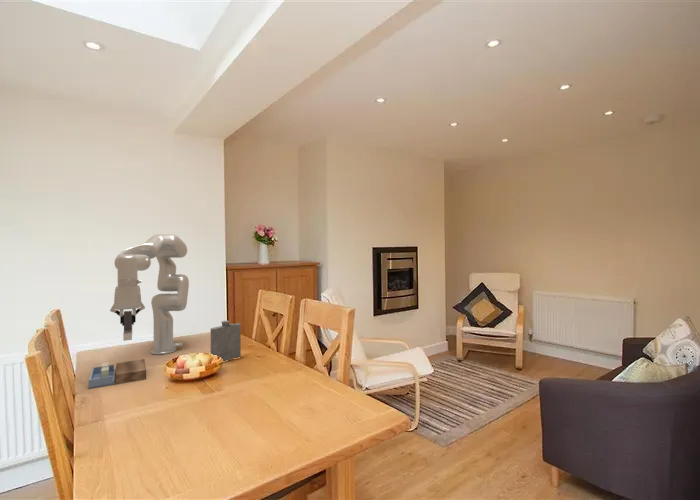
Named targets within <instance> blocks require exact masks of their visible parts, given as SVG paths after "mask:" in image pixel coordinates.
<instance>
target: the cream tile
mask: <svg viewBox="0 0 700 500" xmlns="http://www.w3.org/2000/svg"><path fill="white" fill-rule="evenodd" d="M101 363H102V364H101V366H102V368H103V367H109V365H110V362H108V361H107V362H101Z"/></svg>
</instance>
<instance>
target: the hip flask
mask: <svg viewBox="0 0 700 500" xmlns="http://www.w3.org/2000/svg"><path fill="white" fill-rule="evenodd" d="M241 325H242V324H241V323H230V321H229V320H222V321H221V325H219V326H215V327H211V328H210V355H211V354H213V355H217V356H219V357H221V358H222V359H223V361H226V360H230V359H233V358H238V357H242V356H241V353H242V352H241V350H242V349H241V347H242V346H241V342H242V341H241V336H242V335H241V334H242V333H241V331H242V330H241Z"/></svg>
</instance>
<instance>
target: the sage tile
mask: <svg viewBox="0 0 700 500" xmlns="http://www.w3.org/2000/svg"><path fill="white" fill-rule="evenodd" d="M103 377H109V367H103V368H102V369H101V378H103Z"/></svg>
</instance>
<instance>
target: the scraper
mask: <svg viewBox="0 0 700 500" xmlns="http://www.w3.org/2000/svg"><path fill="white" fill-rule="evenodd" d="M123 314H124V326H123V333H122V335H123V337H122V340H123V342H125V341H132V340H133V325H132V314H133V310H123Z"/></svg>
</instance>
